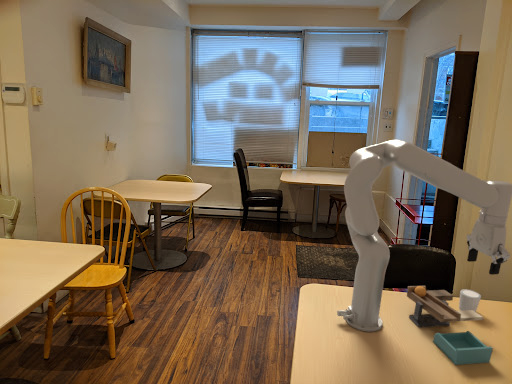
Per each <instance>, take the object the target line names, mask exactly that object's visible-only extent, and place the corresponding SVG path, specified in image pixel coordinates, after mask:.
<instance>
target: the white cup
mask: <svg viewBox="0 0 512 384" xmlns="http://www.w3.org/2000/svg"><path fill="white" fill-rule="evenodd" d="M481 298H482V295H481V294H480V293H479V292H476V291H475V290H472V289H465V288H464V289H463V288H462V289H461V290H460V292H459V302H458V309H459V311H466V310H473V311H475V312H476V313H477V310H478V307H479V304H480V302H481Z"/></svg>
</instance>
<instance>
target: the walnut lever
mask: <svg viewBox="0 0 512 384" xmlns="http://www.w3.org/2000/svg"><path fill="white" fill-rule="evenodd" d="M417 286H418V285H410V286H409V285H408V286H407V290H406V297H407V298H408V299H409V300H411V301H412V302H414V303H415V304H416V301H420V302H421V303H422V304H423V309H422V310H424V311H425V312H427V314H431V315H432V316H433V317H435V318H436V319H437V320H439V321H440V322H449V323H450V322H470V321H484V316H483V315H482V314H479V313H478V312H477V311H476V312H475V311H473V310H466V311H461V310H456V309H454V308H453V307H452V306H450V305H447V304H445V303H444V302H442V301H441V300H445V301H446V302H447V301H449V302H450V301H453V300H454V295H453V294H452V293H450V292H448V291H447V290H445V289H437V290H436V289H434V290H431V289H430V290H427V287H426V285H421V286H422V287H424V288H425V289H426V295H425V296H424V297H419V296H417V295H416V294H415V288H416V287H417Z"/></svg>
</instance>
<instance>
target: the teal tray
mask: <svg viewBox="0 0 512 384" xmlns="http://www.w3.org/2000/svg"><path fill="white" fill-rule="evenodd" d="M432 343H434V345H436V347H437V348H439V350H440V351H441V352H442V353H443V354H444V355H445V356H446V358H448V359H449V360H450V361H451V363H453V365H455V366H458V365H473V364H485V363H490V361H491V358H492V353H493V347H492V346H490V345H489V346H488V345H486V344H485V343H483V342H482V340H480V339H479V338H478V337H477V336H476V335H474V334H473V333H472V332H471V331H469V330H466V331H462V332H460V331H459V332H448V333H447V332H445V333H440V332H436V333H434V336H433V340H432Z"/></svg>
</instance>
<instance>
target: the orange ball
mask: <svg viewBox="0 0 512 384" xmlns="http://www.w3.org/2000/svg"><path fill="white" fill-rule="evenodd" d="M416 286H417V287H416V288H415V294H416V295H417V296H419V297H424V296H425V295H426V291H427V288H426V289H425V288H424V287H422V286H423V285H416Z"/></svg>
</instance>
